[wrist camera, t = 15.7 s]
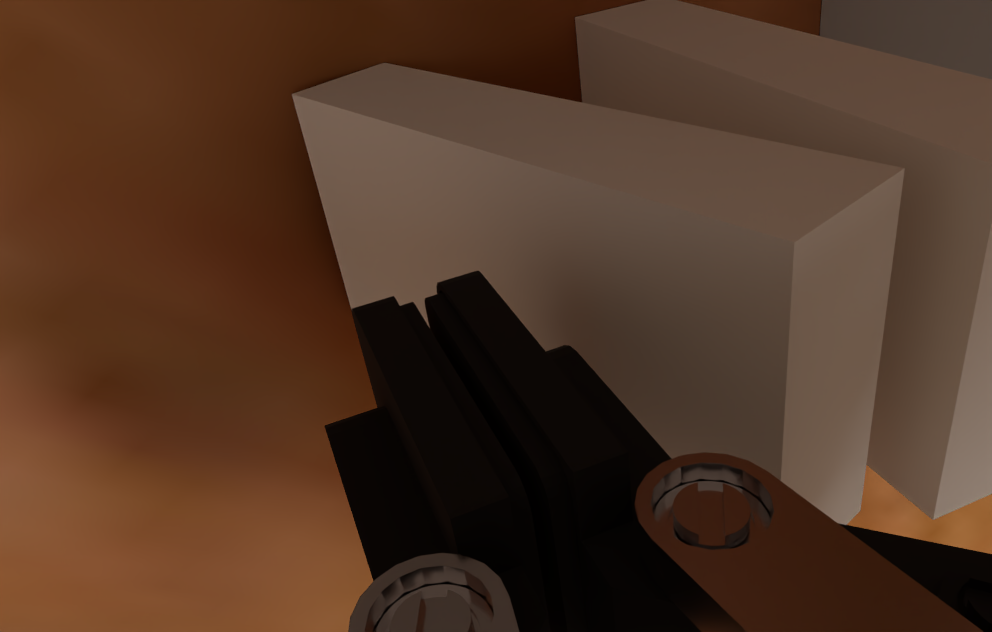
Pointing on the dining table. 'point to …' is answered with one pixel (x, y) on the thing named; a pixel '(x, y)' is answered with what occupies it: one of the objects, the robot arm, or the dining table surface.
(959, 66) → the tile
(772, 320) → the end tile
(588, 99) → the tile
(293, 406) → the dining table surface
